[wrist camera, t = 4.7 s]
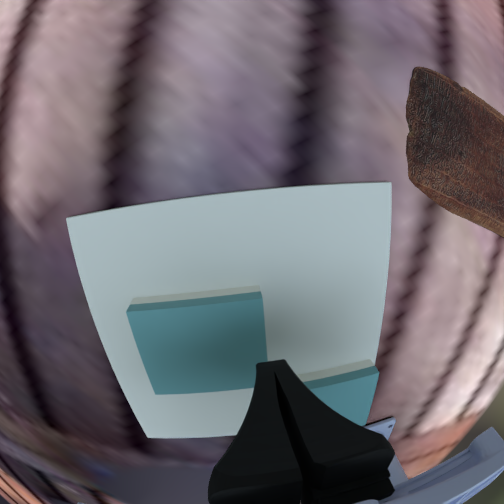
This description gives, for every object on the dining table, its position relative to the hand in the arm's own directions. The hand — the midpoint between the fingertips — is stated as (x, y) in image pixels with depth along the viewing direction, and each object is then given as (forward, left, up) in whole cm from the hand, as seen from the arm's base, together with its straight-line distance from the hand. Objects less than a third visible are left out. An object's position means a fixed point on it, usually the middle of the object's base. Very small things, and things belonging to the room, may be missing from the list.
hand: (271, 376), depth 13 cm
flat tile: (-7, -4, -4) cm, 9 cm away
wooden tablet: (+8, -22, -5) cm, 24 cm away
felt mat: (-1, +1, -4) cm, 5 cm away
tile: (0, 0, -3) cm, 3 cm away
